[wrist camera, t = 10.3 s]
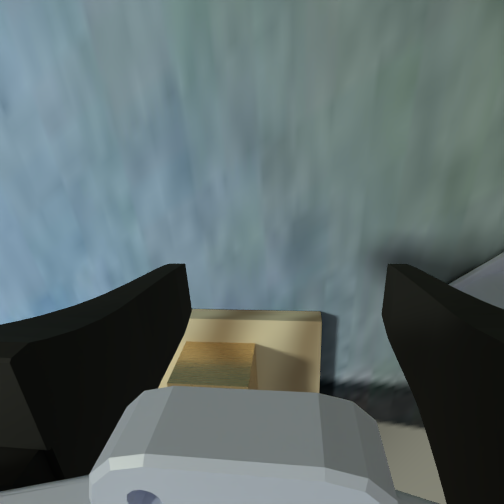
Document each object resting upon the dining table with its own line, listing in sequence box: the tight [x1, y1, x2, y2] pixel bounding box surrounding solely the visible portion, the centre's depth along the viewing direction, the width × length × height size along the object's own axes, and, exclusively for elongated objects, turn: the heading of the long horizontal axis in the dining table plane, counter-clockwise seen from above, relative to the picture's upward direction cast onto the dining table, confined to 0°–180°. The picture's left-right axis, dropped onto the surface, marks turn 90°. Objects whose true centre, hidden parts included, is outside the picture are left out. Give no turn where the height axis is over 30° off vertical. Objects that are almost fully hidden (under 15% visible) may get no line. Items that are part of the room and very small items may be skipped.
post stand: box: [158, 309, 322, 393], centre depth 24 cm, size 14×9×4 cm, turn 93°
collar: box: [167, 341, 258, 390], centre depth 23 cm, size 5×5×4 cm
